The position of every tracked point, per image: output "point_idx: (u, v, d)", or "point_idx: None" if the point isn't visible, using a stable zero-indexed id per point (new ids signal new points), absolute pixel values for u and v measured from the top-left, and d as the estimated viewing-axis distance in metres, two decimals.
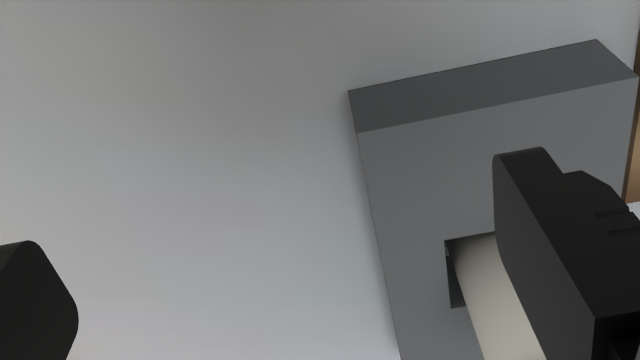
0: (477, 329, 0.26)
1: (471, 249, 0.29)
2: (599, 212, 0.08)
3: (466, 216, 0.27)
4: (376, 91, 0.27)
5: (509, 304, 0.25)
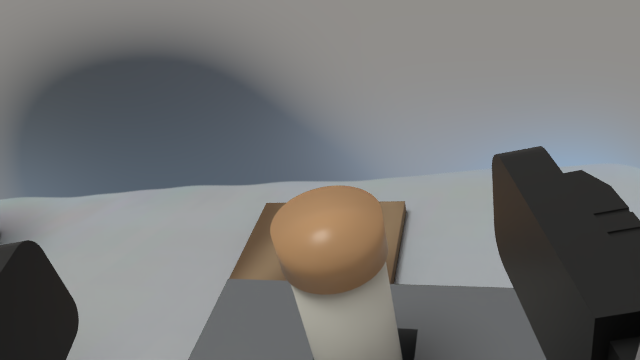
0: (331, 352, 0.25)
1: None
2: (599, 212, 0.08)
3: None
4: None
5: None
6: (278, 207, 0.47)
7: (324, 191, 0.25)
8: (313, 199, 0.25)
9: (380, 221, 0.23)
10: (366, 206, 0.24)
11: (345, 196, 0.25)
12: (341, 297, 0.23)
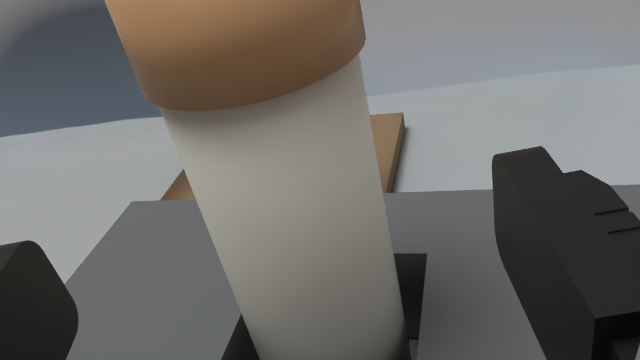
0: (254, 268, 0.12)
1: None
2: (599, 212, 0.08)
3: (181, 351, 0.16)
4: None
5: None
6: None
7: None
8: None
9: None
10: None
11: None
12: (260, 123, 0.10)
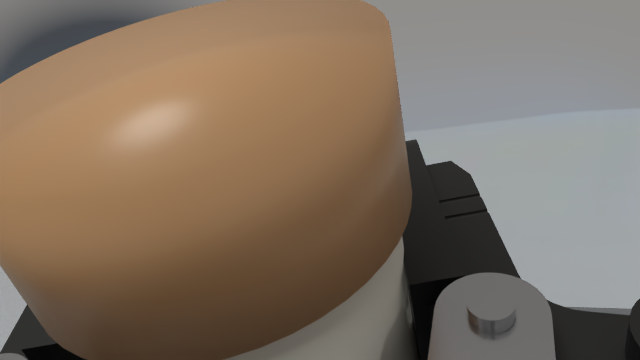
0: None
1: None
2: (453, 197, 0.09)
3: None
4: None
5: None
6: None
7: (200, 11, 0.08)
8: (156, 31, 0.07)
9: (383, 50, 0.05)
10: (330, 20, 0.06)
11: (261, 11, 0.07)
12: None
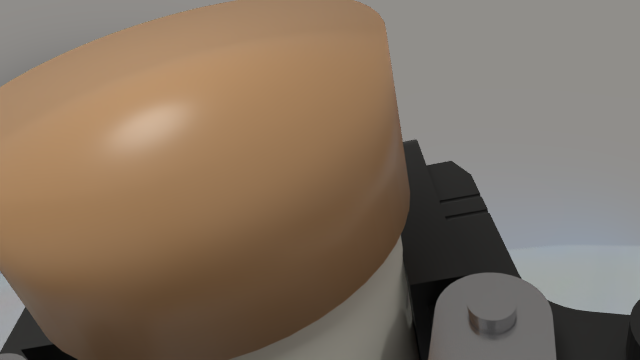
0: None
1: None
2: (454, 198, 0.09)
3: None
4: None
5: None
6: None
7: (197, 14, 0.08)
8: (153, 33, 0.07)
9: (379, 51, 0.05)
10: (327, 21, 0.06)
11: (258, 13, 0.07)
12: None
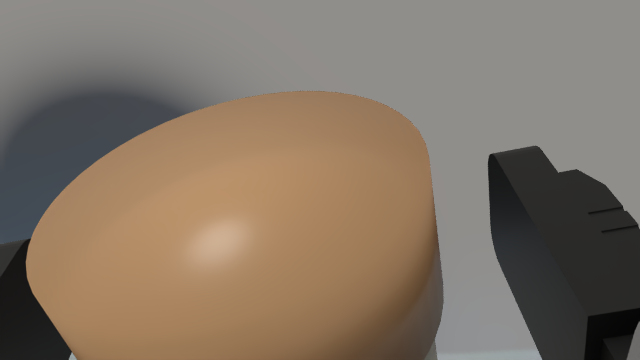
0: None
1: None
2: (593, 211, 0.08)
3: None
4: None
5: None
6: None
7: (244, 107, 0.08)
8: (206, 129, 0.08)
9: (425, 181, 0.06)
10: (372, 136, 0.07)
11: (303, 114, 0.08)
12: None
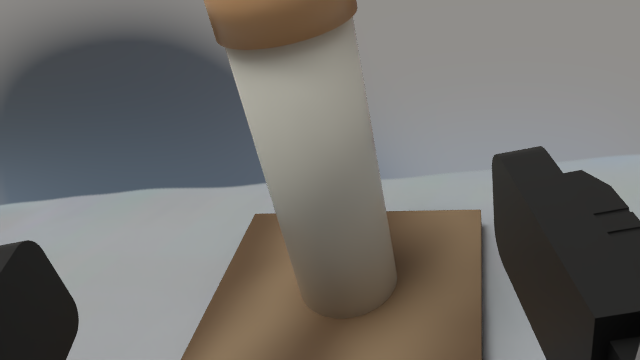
0: (285, 158, 0.19)
1: (282, 231, 0.22)
2: (599, 212, 0.08)
3: None
4: None
5: None
6: (273, 220, 0.30)
7: None
8: None
9: None
10: None
11: None
12: (292, 57, 0.17)
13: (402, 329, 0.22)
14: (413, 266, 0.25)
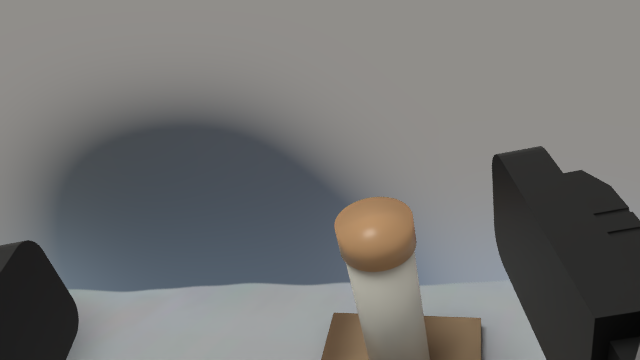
0: (375, 315, 0.36)
1: (366, 344, 0.39)
2: (599, 212, 0.08)
3: None
4: None
5: None
6: (347, 319, 0.46)
7: (370, 201, 0.36)
8: (362, 206, 0.35)
9: (411, 221, 0.33)
10: (401, 211, 0.34)
11: (385, 204, 0.35)
12: (385, 274, 0.33)
13: None
14: (440, 358, 0.41)
